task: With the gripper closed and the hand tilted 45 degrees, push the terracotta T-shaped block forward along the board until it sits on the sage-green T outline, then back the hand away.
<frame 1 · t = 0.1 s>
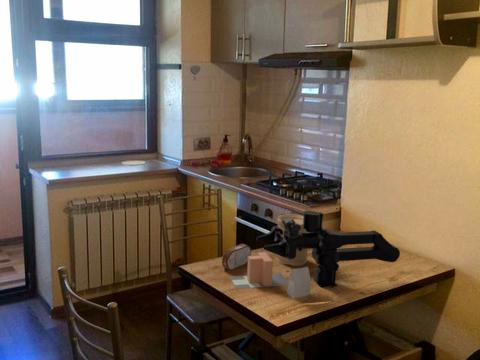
hand: (260, 243, 177), 17 cm above the table, tool horizontal, fingers open, 9 cm apart
container: (291, 261, 207), on the table
grey upright block: (298, 296, 175), on the table
t block: (258, 280, 185), point 1 cm above the table, touching board
tin: (236, 267, 200), on the table
board: (259, 282, 186), on the table
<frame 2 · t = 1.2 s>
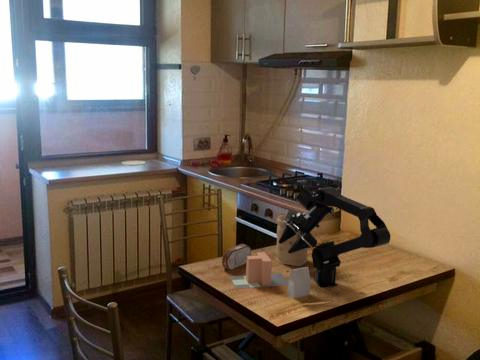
hand: (283, 247, 185), 13 cm above the table, tool tilted 45°, fingers open, 9 cm apart
nothing on the table moved.
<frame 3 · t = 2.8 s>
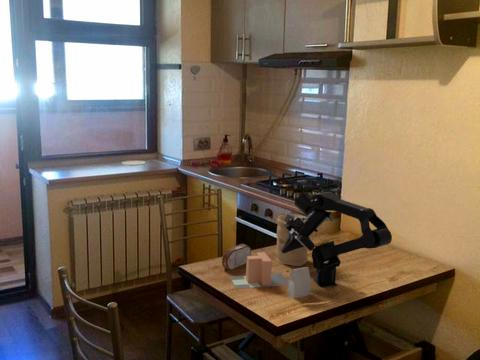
hand: (282, 252, 186), 11 cm above the table, tool tilted 45°, fingers closed
nothing on the table moved.
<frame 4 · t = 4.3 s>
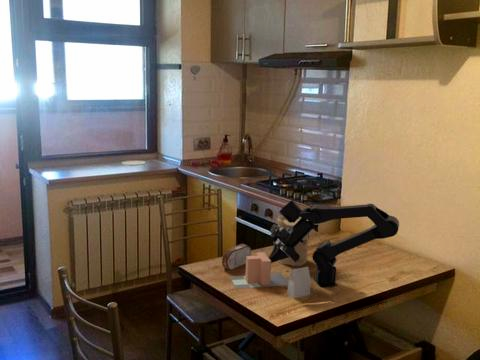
hand: (267, 262, 185), 7 cm above the table, tool tilted 45°, fingers closed, pressing on t block
t block: (256, 280, 185), point 1 cm above the table, touching gripper
everything else where it was.
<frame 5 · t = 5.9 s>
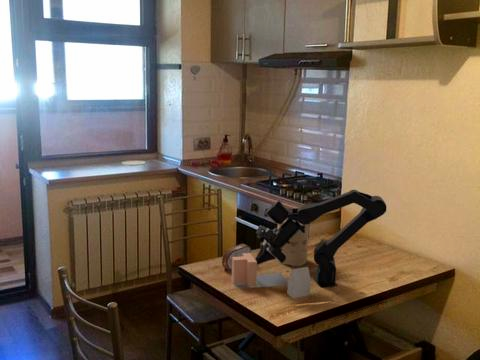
hand: (254, 264, 184), 7 cm above the table, tool tilted 45°, fingers closed
t block: (242, 281, 184), point 1 cm above the table, touching board, gripper
everything else where it was.
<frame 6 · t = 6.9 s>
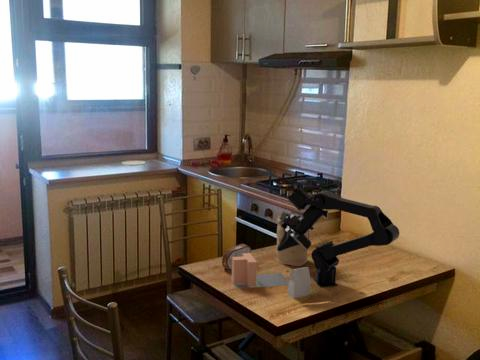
hand: (277, 250, 184), 12 cm above the table, tool tilted 45°, fingers closed
t block: (242, 281, 184), point 1 cm above the table, touching board
everything else where it was.
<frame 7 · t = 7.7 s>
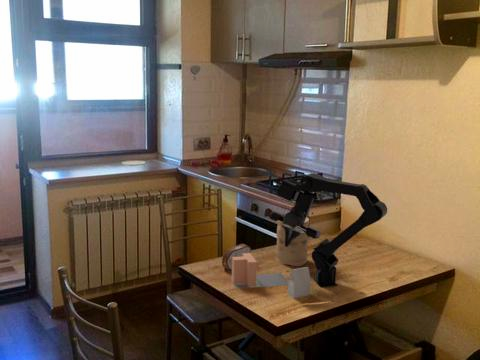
hand: (286, 246, 187), 12 cm above the table, tool tilted 20°, fingers closed
nothing on the table moved.
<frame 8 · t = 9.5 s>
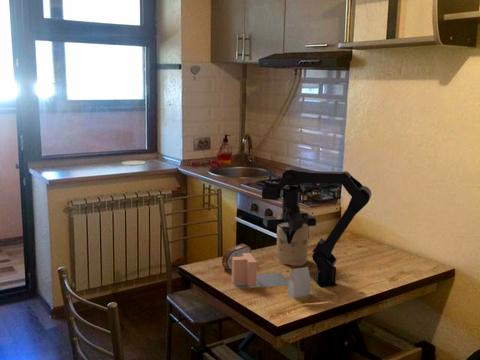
hand: (288, 243, 189), 13 cm above the table, tool pointing down, fingers closed
nothing on the table moved.
at the end: t block 0.3 cm from the target spot on the board, point 0.6 cm above the board's base; t block tilted 0° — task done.
